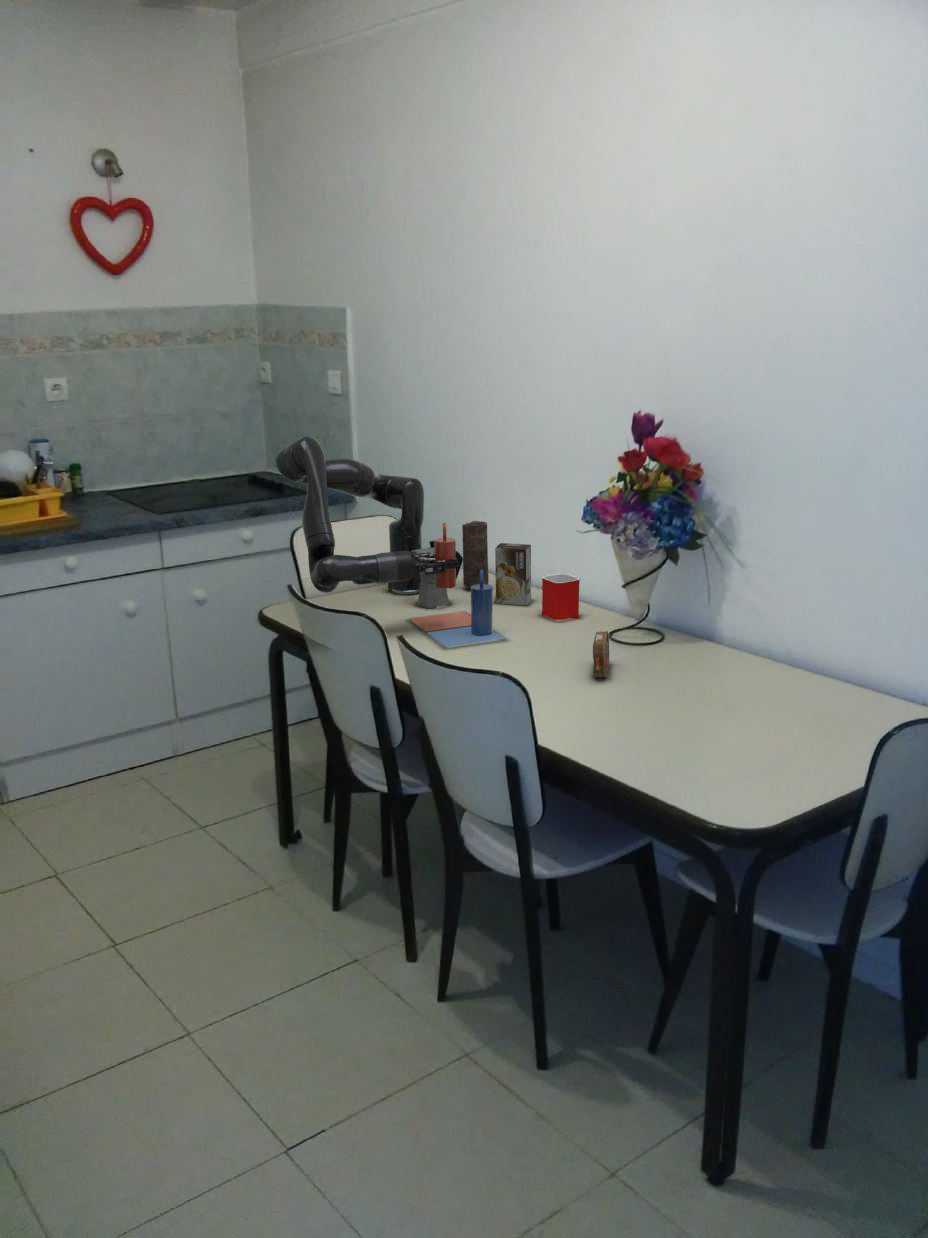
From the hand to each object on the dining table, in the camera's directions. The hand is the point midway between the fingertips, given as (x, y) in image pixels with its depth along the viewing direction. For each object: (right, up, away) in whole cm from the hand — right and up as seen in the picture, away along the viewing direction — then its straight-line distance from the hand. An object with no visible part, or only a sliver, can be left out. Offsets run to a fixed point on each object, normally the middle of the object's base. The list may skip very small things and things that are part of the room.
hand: (454, 560), depth 271 cm
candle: (+6, -6, +41) cm, 41 cm away
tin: (+34, -27, -28) cm, 52 cm away
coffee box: (+16, -10, +27) cm, 33 cm away
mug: (+27, -14, +14) cm, 34 cm away
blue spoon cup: (+7, -18, -2) cm, 20 cm away
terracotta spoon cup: (-2, -6, +1) cm, 7 cm away
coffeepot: (-5, -11, +25) cm, 28 cm away
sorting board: (0, -18, +2) cm, 18 cm away
